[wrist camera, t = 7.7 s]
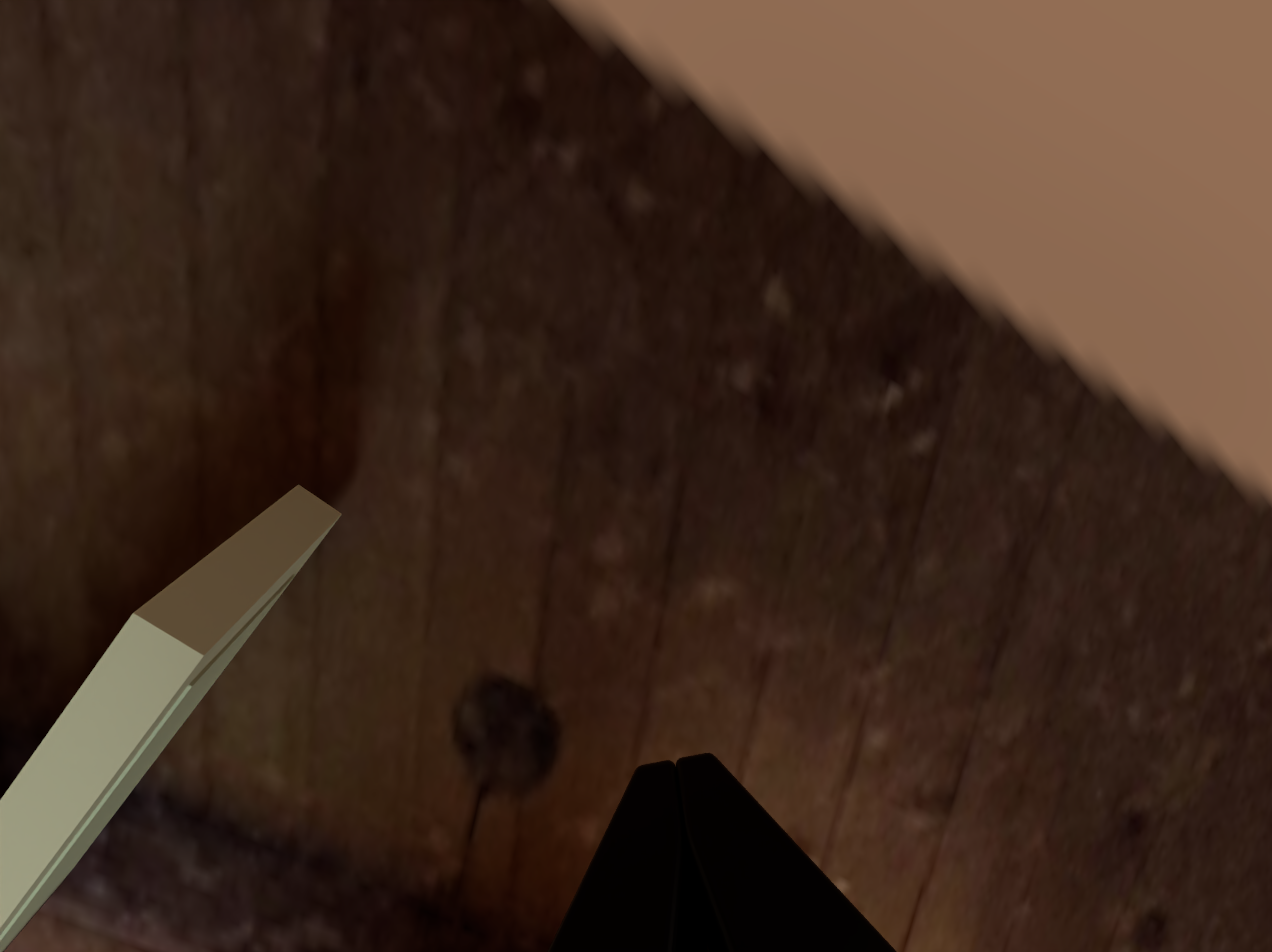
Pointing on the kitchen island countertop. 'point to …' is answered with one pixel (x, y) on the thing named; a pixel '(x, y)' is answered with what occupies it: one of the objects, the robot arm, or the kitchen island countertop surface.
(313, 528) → the door
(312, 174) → the kitchen island countertop surface
